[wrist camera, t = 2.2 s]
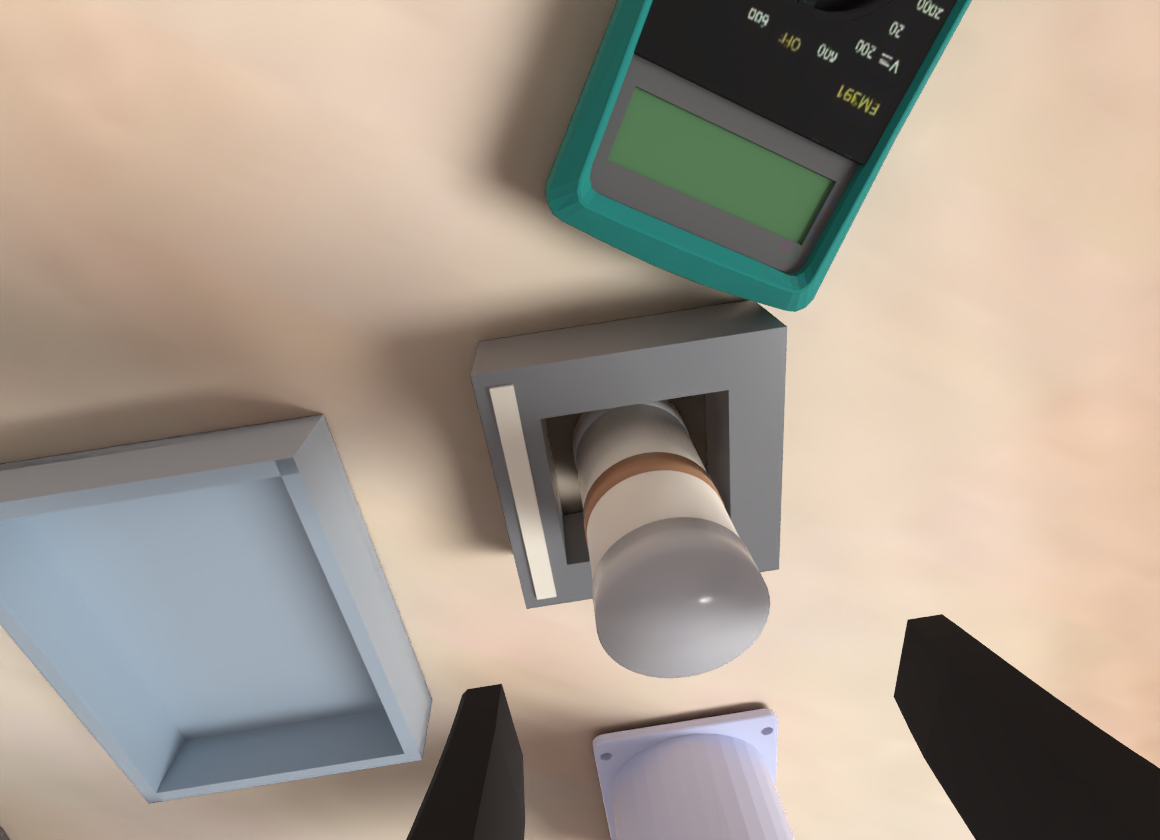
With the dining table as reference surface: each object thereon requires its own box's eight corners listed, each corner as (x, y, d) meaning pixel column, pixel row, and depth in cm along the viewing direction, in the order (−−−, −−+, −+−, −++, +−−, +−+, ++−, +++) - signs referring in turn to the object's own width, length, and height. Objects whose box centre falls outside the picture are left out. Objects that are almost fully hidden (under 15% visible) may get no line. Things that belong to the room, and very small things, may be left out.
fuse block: (752, 520, 20) (780, 571, 18) (526, 555, 20) (526, 611, 18) (752, 299, 17) (788, 327, 14) (478, 342, 17) (470, 377, 14)
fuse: (687, 478, 19) (768, 663, 13) (580, 494, 19) (606, 689, 13) (681, 380, 18) (771, 536, 11) (564, 398, 18) (585, 564, 11)
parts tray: (432, 699, 23) (421, 760, 21) (185, 738, 23) (149, 803, 21) (323, 414, 17) (293, 457, 15) (-11, 465, 17) (-90, 516, 15)
